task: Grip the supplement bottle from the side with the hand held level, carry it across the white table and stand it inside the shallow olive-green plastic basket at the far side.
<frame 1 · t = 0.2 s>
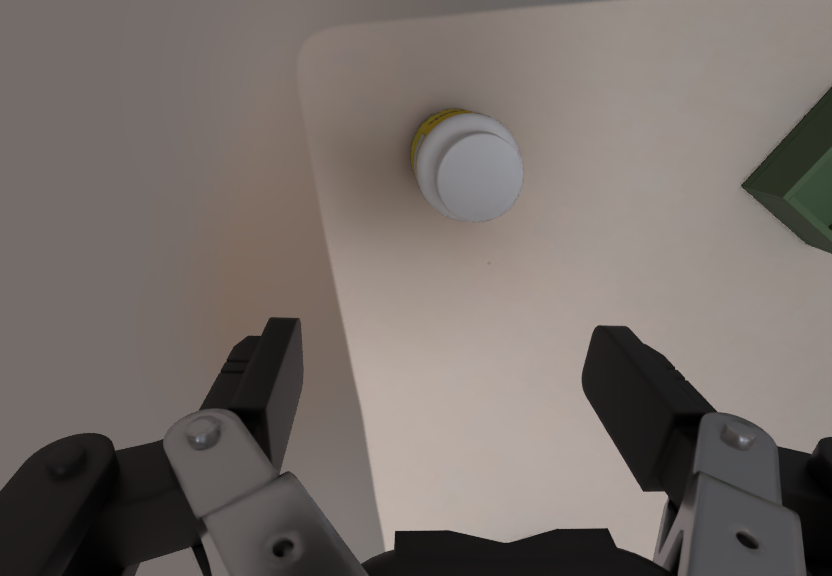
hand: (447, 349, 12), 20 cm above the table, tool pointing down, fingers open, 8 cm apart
basket: (821, 169, 32), on the table
supplement bottle: (450, 151, 30), on the table
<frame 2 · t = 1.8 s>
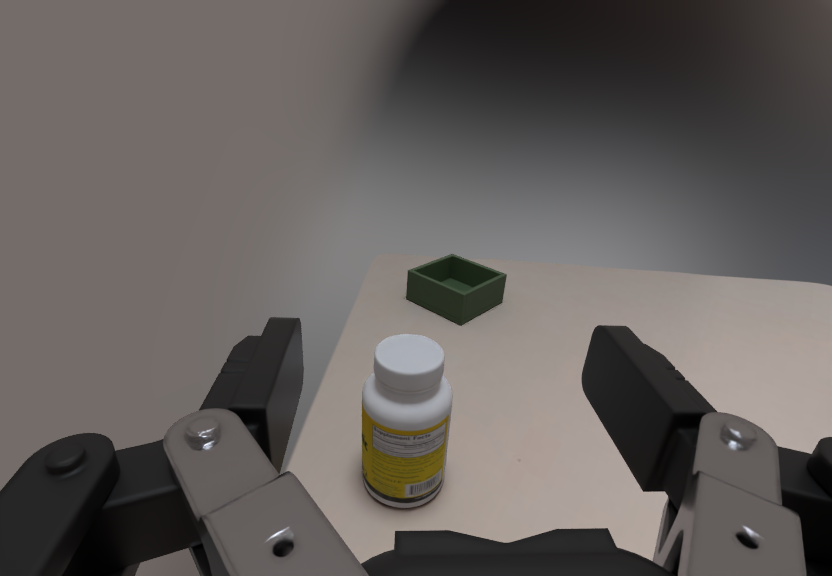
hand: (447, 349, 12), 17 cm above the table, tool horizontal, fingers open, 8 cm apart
basket: (454, 300, 53), on the table
supplement bottle: (402, 478, 30), on the table
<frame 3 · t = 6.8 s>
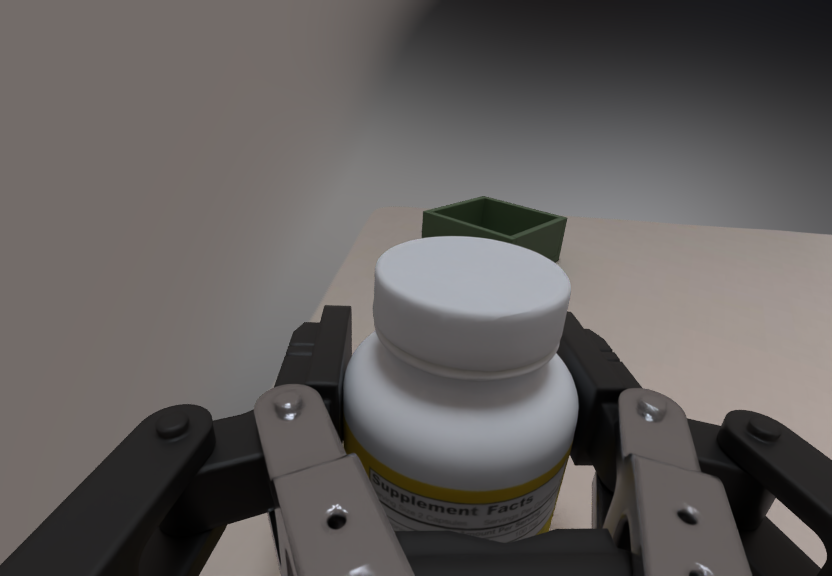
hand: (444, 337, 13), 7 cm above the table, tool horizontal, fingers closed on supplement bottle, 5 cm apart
basket: (490, 257, 37), on the table
supplement bottle: (435, 573, 14), on the table, touching gripper
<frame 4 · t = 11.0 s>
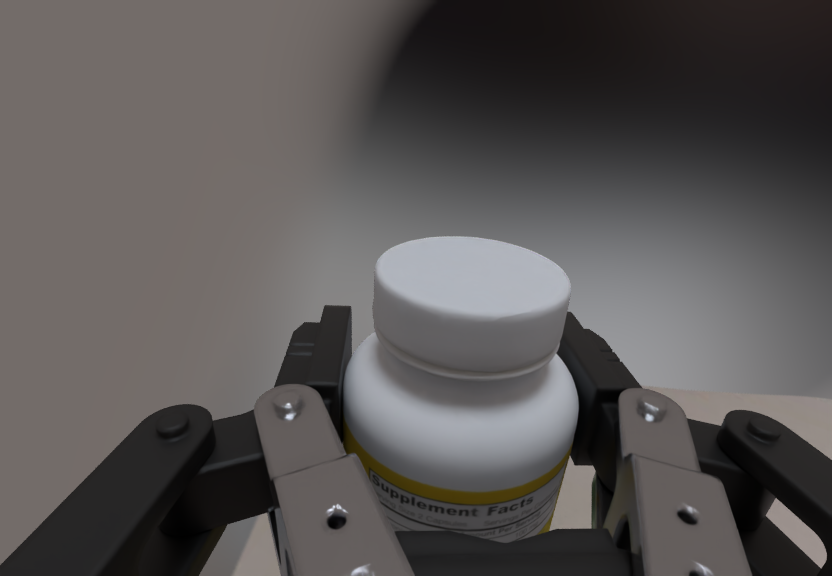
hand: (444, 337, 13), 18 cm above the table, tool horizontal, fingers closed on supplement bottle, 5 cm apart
supplement bottle: (435, 573, 14), point 11 cm above the table, touching gripper
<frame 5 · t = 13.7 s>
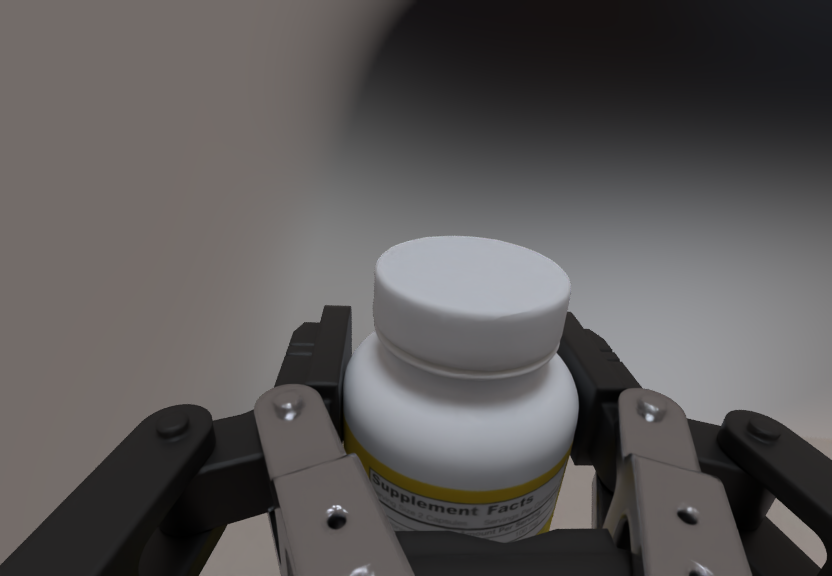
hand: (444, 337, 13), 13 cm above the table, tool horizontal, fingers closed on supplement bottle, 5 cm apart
supplement bottle: (435, 573, 14), point 6 cm above the table, touching gripper
when the fingers open (7 cm above the table, at t = 15.7 s): supplement bottle stays where it is, resting on basket.
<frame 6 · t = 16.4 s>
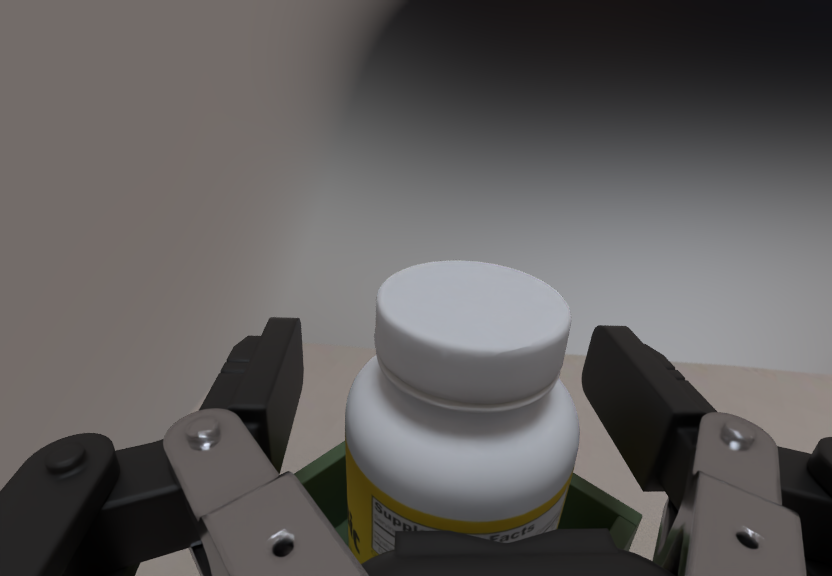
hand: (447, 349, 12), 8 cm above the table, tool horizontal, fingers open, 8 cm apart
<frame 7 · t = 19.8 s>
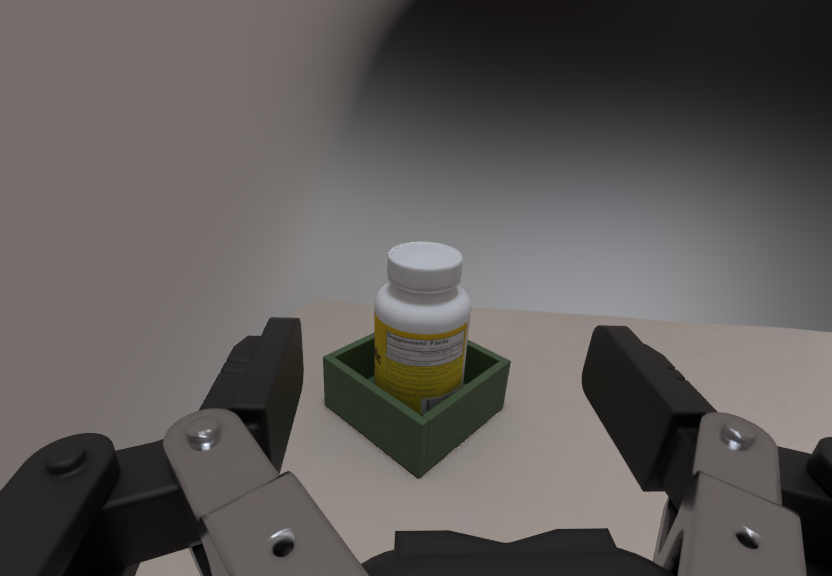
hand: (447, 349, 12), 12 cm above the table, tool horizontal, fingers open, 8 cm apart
basket: (414, 406, 29), on the table
supplement bottle: (416, 402, 29), resting on basket
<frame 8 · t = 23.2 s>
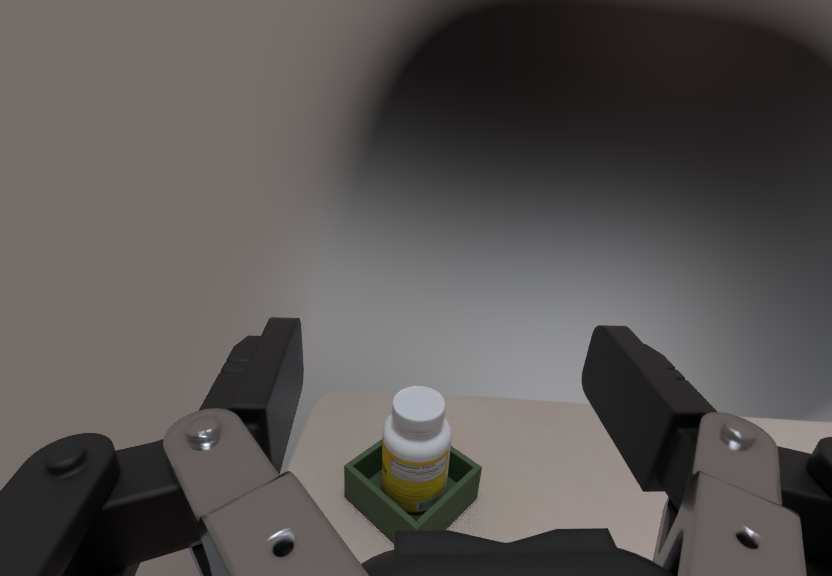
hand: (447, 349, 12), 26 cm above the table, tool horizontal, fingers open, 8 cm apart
basket: (411, 497, 39), on the table
supplement bottle: (412, 495, 38), resting on basket
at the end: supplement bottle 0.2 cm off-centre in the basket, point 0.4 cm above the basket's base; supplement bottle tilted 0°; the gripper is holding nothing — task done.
